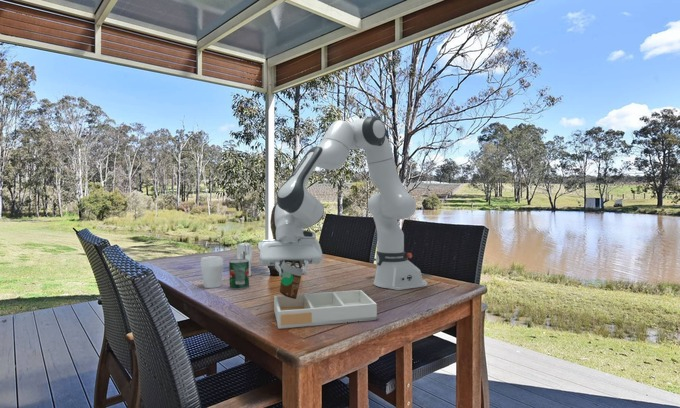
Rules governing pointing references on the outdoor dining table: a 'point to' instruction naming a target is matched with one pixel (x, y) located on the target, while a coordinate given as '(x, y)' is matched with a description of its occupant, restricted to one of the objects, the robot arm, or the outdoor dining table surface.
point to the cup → (212, 271)
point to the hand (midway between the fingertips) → (292, 274)
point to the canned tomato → (239, 273)
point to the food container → (290, 278)
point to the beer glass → (245, 253)
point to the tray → (324, 308)
